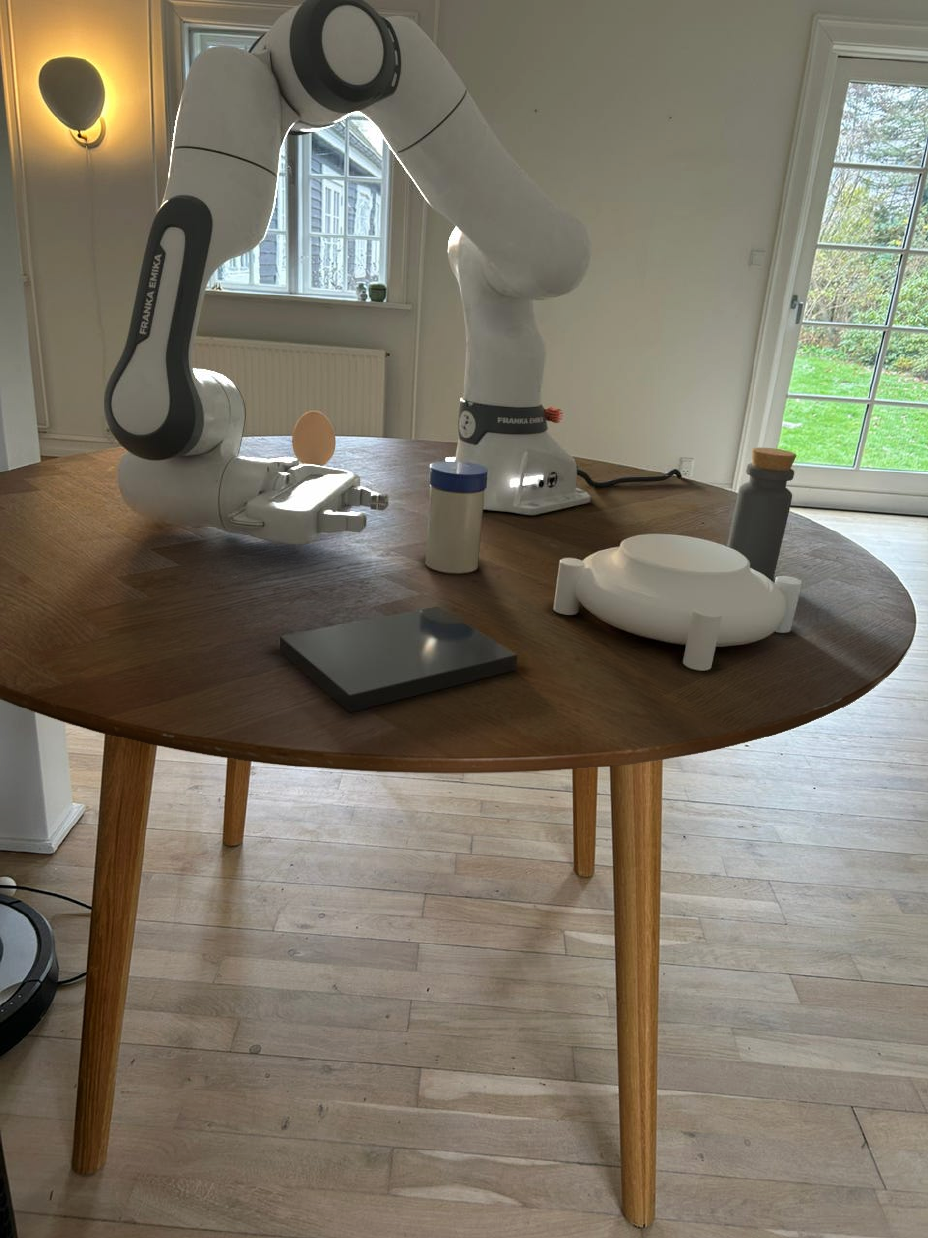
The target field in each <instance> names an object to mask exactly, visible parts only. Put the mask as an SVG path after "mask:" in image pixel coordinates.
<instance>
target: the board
mask: <svg viewBox="0 0 928 1238" xmlns="http://www.w3.org/2000/svg"><path fill="white" fill-rule="evenodd" d="M279 653H280V654H281V655H283V656H284V657H285V658H286V659H287V660H288V661H290V663H292V664H293V665H294V666H295V667H296V668H297V669H299V670H300V671H301V672H302V673H303V674H304V675H306V676H307V677H308V678H309V679H310V680H311V681H312V682H313V683H314V684H316V685H317V686H318V687H319V688H320V689H321V690H322V691H324V692H325V693H326V694H327V695H328V696H329V697H330V698H331V699H333V700H334V701H335V702H336V703H337V704H338V705H340V706H341V707H342V708H343V709H344V710H345V711H346V712H348V713H349V714H350V713H355V712H358V711H362V710H366V709H369V708H374V707H376V706H377V707H378V706H382V705H385V704H389V703H394V702H397V701H401V700H404V699H409V698H413V697H416V696H420V695H425V694H428V693H432V692H436V691H439V690H444V689H448V688H452V687H455V686H459V685H464V684H467V683H471V682H475V681H478V680H483V679H487V678H490V677H495V676H499V675H502V674H507V673H509V672H510V673H511V672H514V671H516V670H517V664H518V653H516V652H514V651H513V650H511V649H509V648H508V647H506V646H504V645H502V644H501V643H499V642H497V641H496V640H494V639H492V638H491V637H489V636H487V635H485V634H484V633H483V632H481V631H479V630H477V629H476V628H474V627H472V626H471V625H469V624H467V623H466V622H464V621H462V620H461V619H459V618H457V617H456V616H454V615H452V614H451V613H449V612H448V611H446V610H444V609H443V608H441V607H439V606H432V607H427V608H421V609H417V610H416V609H415V610H411V611H406V612H400V613H395V614H388V615H384V616H379V617H373V618H369V619H362V620H357V621H352V622H347V623H341V624H336V625H331V626H326V627H320V628H314V629H309V630H304V631H298V632H294V633H288V634H283V635H279Z"/></svg>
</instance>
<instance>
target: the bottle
mask: <svg viewBox="0 0 928 1238" xmlns="http://www.w3.org/2000/svg"><path fill="white" fill-rule="evenodd" d="M751 456H752V457H751V463H748V464H747V465H746V469H745V473H746V474H747V475H749V481H748V482H745V483H743V484H741V485H740V486H739V488H738V491H737V492H738V493H737V497H736V502H735V506H734V510H733V515H732V519H731V525H730V529H729V535H728V540H727V545H726V546H727V547H729V548H732V549H734V550H736V551H738V552H739V553H741V554H742V555H743V556H745V557H746V558H747V559H748V560H749V562H750V568H752V569H754V570H756V571H758V572H760V573H761V574H763V575H765V576H766V577H767V578H768V579H770V580H771V581H772V582H774V579H775V578H774V577H775V573H776V570H777V566H778V561H779V557H780V553H781V548H782V543H783V539H784V536H785V532H786V531H785V530H786V528H787V522H788V519H789V513H790V509H791V505H792V500H793V493H792V492H791V491H790V489H788V488H787V484H788V483H787V482H791V481H792V480H794V476H795V470H794V469H792V467H793V464H794V463H795V460H796V458H797V454H796V453H794V452H793V451H790V450H786V449H780V448H774V447H773V448H772V447H753V448H752V449H751Z"/></svg>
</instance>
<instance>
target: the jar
mask: <svg viewBox="0 0 928 1238" xmlns="http://www.w3.org/2000/svg"><path fill="white" fill-rule="evenodd" d="M484 495H485V489H484V490H481V491H476V492H457V491H448V490H443V489H439V488H436V487H433V486H432V485H430V484H429V498H428V499H429V500H428V513H427V514H428V515H427V527H426V528H427V530H426V544H425V561H424V563H425V565H426V566H427V567H428V568H429V569H432V570H434V571H437V572H440V573H447V574H466V573H467V574H468V573H471V572H474V571H476V570H477V569H478V568H479V562H480V561H479V560H480V549H481V539H482V538H481V537H482V529H483V527H482V526H483V518H484V517H483V516H484V509H483V506H484Z"/></svg>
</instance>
